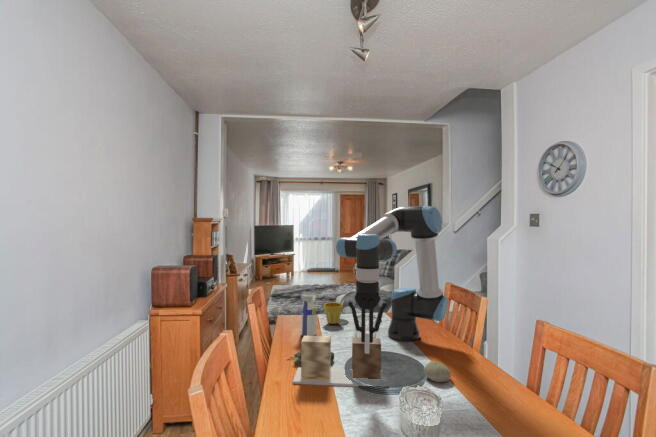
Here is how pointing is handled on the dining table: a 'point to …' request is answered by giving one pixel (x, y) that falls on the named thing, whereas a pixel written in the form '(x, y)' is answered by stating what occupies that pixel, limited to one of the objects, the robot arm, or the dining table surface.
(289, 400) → the dining table surface
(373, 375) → the walnut block
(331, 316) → the plant pot
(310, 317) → the water bottle
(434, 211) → the robot arm
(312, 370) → the oak block
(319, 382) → the felt mat
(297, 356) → the decorative book
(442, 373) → the sea urchin shell
